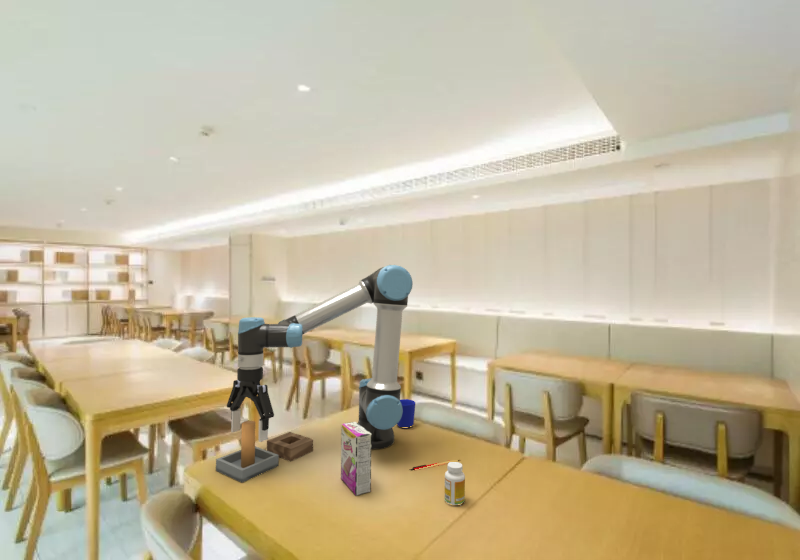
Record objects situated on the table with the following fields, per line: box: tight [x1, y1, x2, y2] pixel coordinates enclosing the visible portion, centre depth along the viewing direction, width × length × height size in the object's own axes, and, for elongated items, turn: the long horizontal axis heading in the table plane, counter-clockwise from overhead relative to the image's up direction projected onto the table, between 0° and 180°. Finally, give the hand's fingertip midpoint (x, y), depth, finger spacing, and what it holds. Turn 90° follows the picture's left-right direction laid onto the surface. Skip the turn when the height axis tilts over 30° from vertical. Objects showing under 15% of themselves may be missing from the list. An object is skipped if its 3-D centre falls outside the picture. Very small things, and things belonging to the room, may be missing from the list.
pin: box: [240, 420, 256, 468], centre depth 121 cm, size 4×4×13 cm
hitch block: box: [266, 431, 314, 462], centre depth 133 cm, size 12×10×4 cm
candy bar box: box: [340, 421, 372, 497], centre depth 111 cm, size 11×5×16 cm, turn 31°
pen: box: [408, 462, 438, 471], centre depth 125 cm, size 1×19×1 cm, turn 115°
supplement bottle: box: [443, 461, 466, 505], centre depth 104 cm, size 5×5×10 cm
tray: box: [215, 445, 280, 484], centre depth 120 cm, size 13×13×4 cm
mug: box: [396, 398, 416, 428], centre depth 162 cm, size 8×12×10 cm
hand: (249, 435), depth 121 cm, fingers open, 13 cm apart
